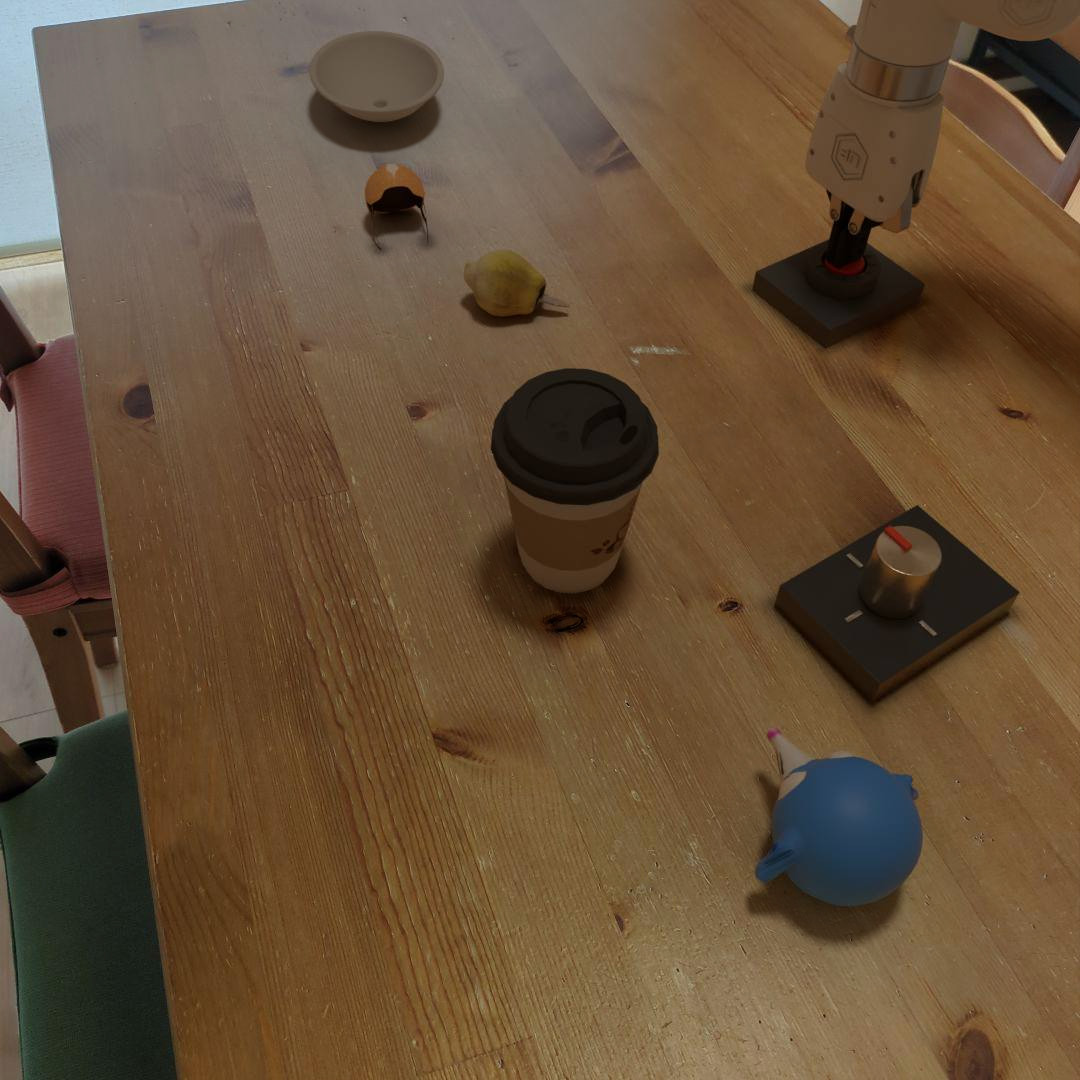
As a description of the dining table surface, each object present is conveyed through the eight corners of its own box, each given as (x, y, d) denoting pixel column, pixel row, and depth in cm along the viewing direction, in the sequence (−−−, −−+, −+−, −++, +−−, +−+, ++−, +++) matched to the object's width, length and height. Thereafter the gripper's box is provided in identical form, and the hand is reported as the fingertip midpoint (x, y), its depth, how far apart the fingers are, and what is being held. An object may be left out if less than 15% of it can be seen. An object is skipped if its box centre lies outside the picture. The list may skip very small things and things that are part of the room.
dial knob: (934, 601, 79) (957, 555, 75) (889, 629, 77) (910, 583, 73) (890, 560, 81) (910, 513, 77) (845, 586, 80) (863, 539, 76)
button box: (844, 248, 110) (853, 213, 106) (918, 302, 104) (931, 267, 101) (751, 290, 105) (758, 255, 102) (824, 349, 100) (834, 313, 97)
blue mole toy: (830, 724, 75) (860, 655, 69) (949, 873, 69) (994, 812, 62) (682, 800, 72) (698, 735, 65) (792, 965, 65) (823, 911, 59)
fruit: (564, 337, 101) (455, 316, 100) (566, 312, 106) (462, 291, 105) (576, 277, 97) (464, 254, 97) (578, 253, 102) (471, 232, 102)
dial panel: (908, 525, 87) (918, 503, 85) (1008, 612, 82) (1021, 590, 80) (773, 605, 82) (780, 583, 80) (870, 703, 76) (880, 682, 74)
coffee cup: (601, 642, 79) (615, 503, 68) (465, 579, 83) (456, 437, 71) (668, 535, 86) (691, 392, 74) (539, 481, 89) (542, 336, 78)
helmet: (431, 254, 113) (417, 178, 113) (435, 232, 106) (420, 151, 106) (374, 262, 112) (360, 185, 112) (375, 240, 105) (359, 158, 105)
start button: (841, 259, 105) (845, 243, 103) (868, 279, 103) (873, 263, 101) (813, 272, 103) (816, 256, 102) (840, 292, 101) (844, 276, 100)
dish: (302, 82, 128) (296, 40, 125) (423, 65, 131) (420, 23, 128) (333, 164, 118) (326, 120, 114) (464, 142, 121) (462, 99, 117)
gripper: (796, 39, 90) (757, 231, 104) (933, 122, 82) (871, 318, 96) (863, 16, 93) (816, 206, 107) (1002, 94, 85) (932, 289, 99)
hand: (842, 259), depth 102 cm, fingers closed
